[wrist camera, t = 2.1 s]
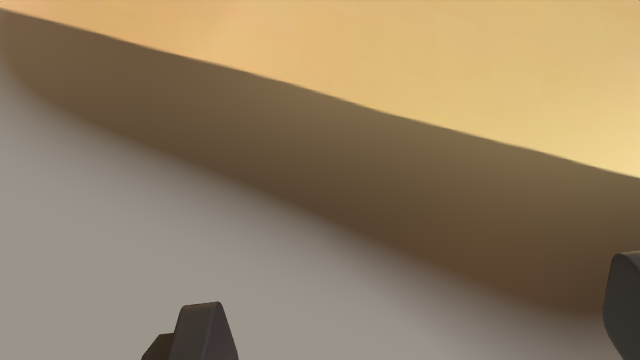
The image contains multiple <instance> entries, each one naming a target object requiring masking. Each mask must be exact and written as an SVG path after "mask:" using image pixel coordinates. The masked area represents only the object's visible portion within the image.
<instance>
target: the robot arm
mask: <svg viewBox="0 0 640 360" xmlns="http://www.w3.org/2000/svg"><path fill="white" fill-rule="evenodd" d="M603 321H604V326H605V329H606V331H607V334H608V336H609V338H610V340H611V342H612V343H613V345H614V346H615V348H616V349H617V351H618V352H619V354H620V355H621V356H622V358H623V360H640V251H634V252H626V253H619V254H616V255H615V256H614V257H613V259H612V262H611V267H610V272H609V277H608V283H607V288H606V293H605V299H604V304H603ZM141 360H239V359H238V353H237V350H236V346H235V343H234V340H233V337H232V334H231V331H230V328H229V325H228V322H227V318H226V315H225V312H224V309H223V306H222V304H221V303H220V302H211V303H203V304H194V305H186V306H183V307H182V308H181V311H180V313H179V317H178V320H177V324H176V327H175V330H174V333H169V334H160V335H159V336H158V337H157V338H156V339H155V341H154V342H153V343H152V345H151V346H150V347H149V348H148V350H147V351H146V352H145V353H144V355H143V356H142V359H141Z"/></svg>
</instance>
